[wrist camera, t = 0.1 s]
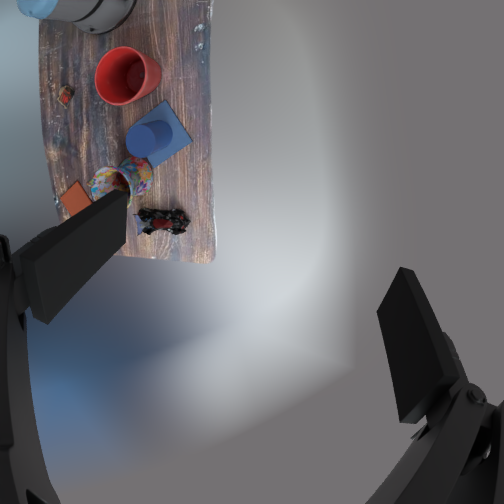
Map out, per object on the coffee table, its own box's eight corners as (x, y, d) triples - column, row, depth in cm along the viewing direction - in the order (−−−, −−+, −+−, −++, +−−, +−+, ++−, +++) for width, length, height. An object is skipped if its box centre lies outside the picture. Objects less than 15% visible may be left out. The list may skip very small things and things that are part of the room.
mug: (157, 156, 60) (132, 169, 51) (155, 199, 64) (132, 218, 55) (108, 150, 61) (79, 163, 51) (108, 191, 65) (81, 208, 56)
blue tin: (162, 114, 55) (143, 118, 48) (178, 138, 57) (161, 145, 50) (140, 131, 58) (119, 137, 51) (155, 155, 60) (137, 164, 53)
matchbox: (76, 89, 54) (74, 89, 54) (69, 110, 57) (68, 110, 56) (62, 83, 54) (61, 83, 54) (56, 103, 56) (55, 104, 56)
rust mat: (78, 180, 65) (77, 181, 65) (95, 207, 68) (95, 208, 67) (61, 197, 68) (60, 198, 68) (78, 223, 71) (77, 224, 70)
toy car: (138, 205, 66) (130, 212, 62) (190, 206, 64) (183, 214, 61) (142, 230, 69) (134, 238, 65) (192, 233, 67) (186, 242, 64)
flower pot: (157, 40, 49) (133, 34, 40) (177, 87, 53) (155, 88, 45) (114, 66, 52) (86, 65, 43) (132, 111, 56) (106, 116, 48)
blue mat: (165, 99, 54) (164, 100, 54) (192, 141, 58) (192, 141, 57) (129, 128, 58) (128, 129, 58) (154, 167, 61) (153, 168, 61)
